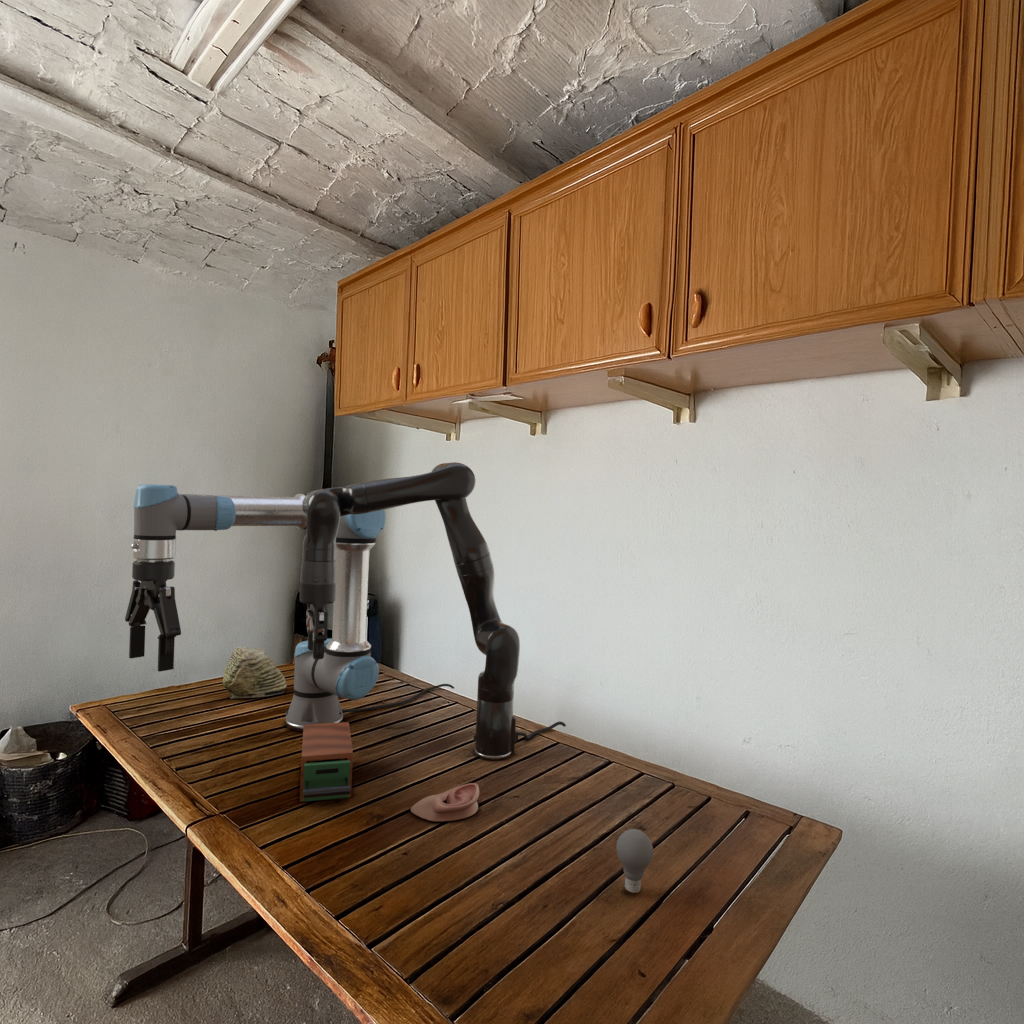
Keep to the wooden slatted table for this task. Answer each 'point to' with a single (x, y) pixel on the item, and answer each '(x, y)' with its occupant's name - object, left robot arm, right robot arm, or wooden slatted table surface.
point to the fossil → (252, 674)
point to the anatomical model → (449, 804)
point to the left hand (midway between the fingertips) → (150, 663)
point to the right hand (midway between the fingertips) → (315, 654)
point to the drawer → (326, 779)
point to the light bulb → (634, 857)
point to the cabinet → (326, 745)
